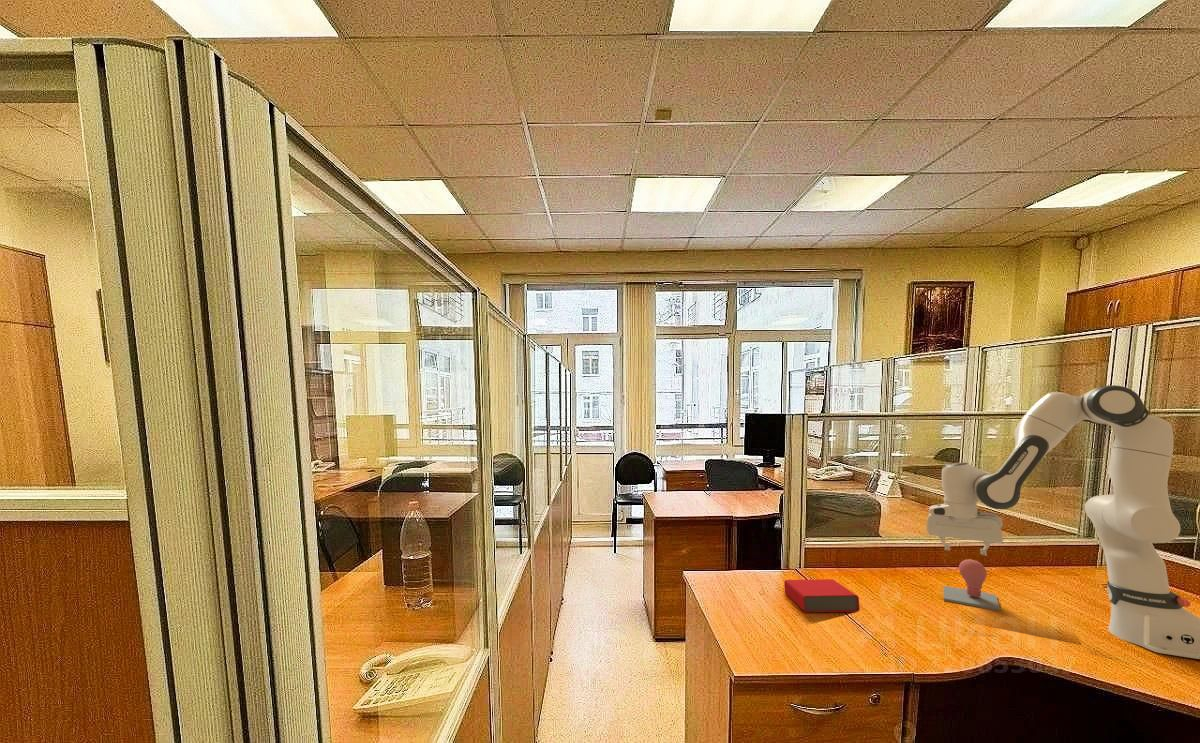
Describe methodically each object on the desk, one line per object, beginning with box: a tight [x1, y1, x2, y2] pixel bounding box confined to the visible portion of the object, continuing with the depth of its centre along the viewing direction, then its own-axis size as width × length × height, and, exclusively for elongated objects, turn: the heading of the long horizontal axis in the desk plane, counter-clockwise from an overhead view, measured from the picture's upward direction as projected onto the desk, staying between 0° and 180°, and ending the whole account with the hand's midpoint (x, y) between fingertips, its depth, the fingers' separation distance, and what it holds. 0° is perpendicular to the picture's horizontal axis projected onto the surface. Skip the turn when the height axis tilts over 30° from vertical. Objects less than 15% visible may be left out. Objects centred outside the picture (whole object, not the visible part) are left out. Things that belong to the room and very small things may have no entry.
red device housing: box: [783, 578, 860, 613], centre depth 146 cm, size 18×14×5 cm
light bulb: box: [958, 558, 988, 597], centre depth 147 cm, size 7×7×12 cm
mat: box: [942, 585, 1001, 612], centre depth 147 cm, size 14×14×1 cm
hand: (965, 552), depth 149 cm, fingers open, 8 cm apart
